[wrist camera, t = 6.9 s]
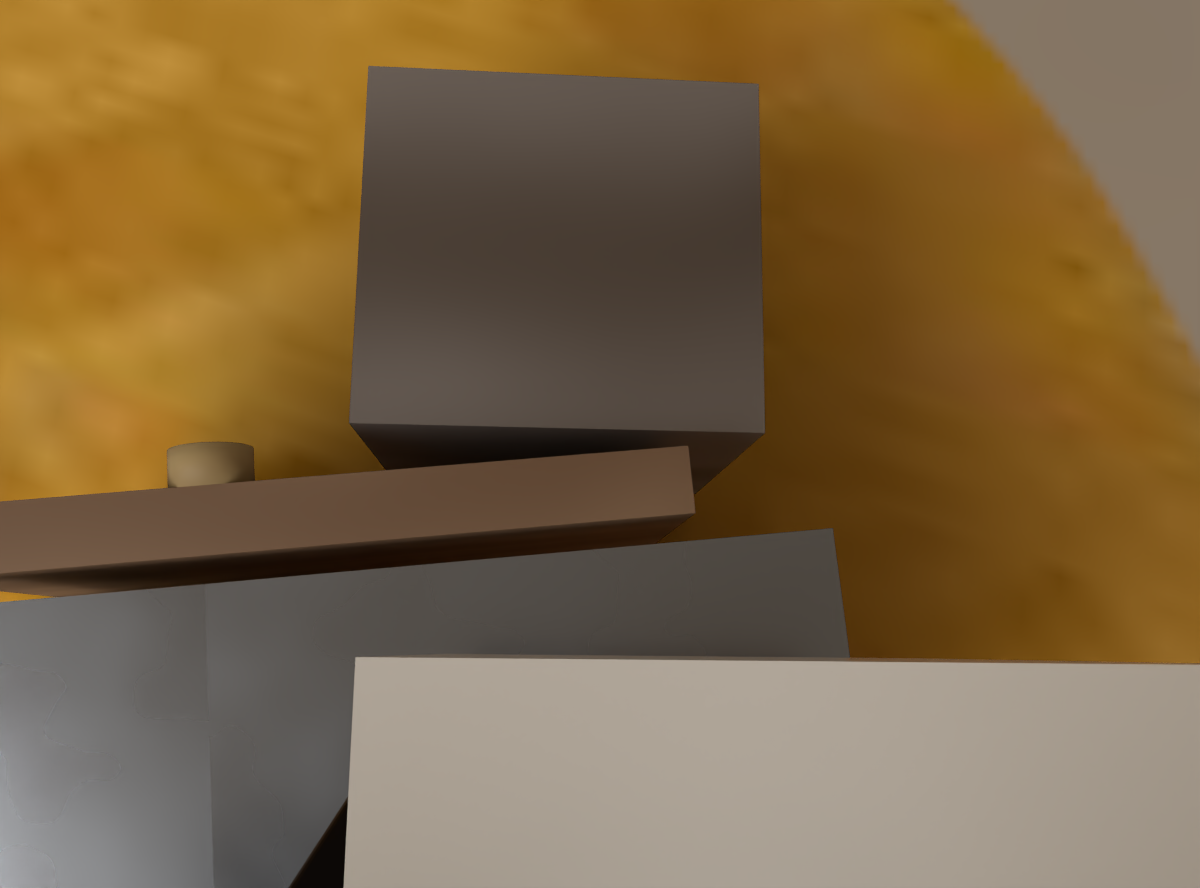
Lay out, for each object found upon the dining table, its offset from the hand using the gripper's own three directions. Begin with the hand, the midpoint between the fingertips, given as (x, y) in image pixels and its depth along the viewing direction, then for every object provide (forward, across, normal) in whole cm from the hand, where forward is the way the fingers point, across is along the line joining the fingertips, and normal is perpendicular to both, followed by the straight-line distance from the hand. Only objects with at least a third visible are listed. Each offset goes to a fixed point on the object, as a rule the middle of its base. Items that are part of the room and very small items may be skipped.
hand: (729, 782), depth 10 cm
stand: (+15, +1, +4) cm, 15 cm away
